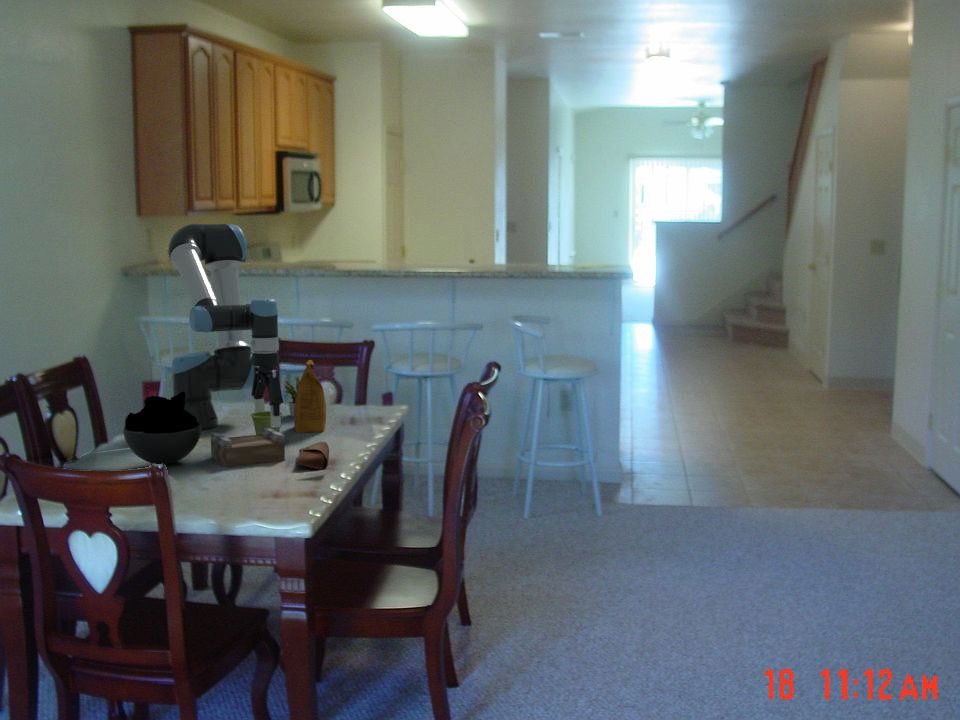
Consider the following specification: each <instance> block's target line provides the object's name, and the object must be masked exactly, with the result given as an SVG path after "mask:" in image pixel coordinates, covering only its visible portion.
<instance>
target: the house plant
mask: <svg viewBox="0 0 960 720" xmlns="http://www.w3.org/2000/svg"><path fill="white" fill-rule="evenodd" d="M290 375H292V376H293V378H294V380H295V388H294V385H293V384H292V383H291V381H290V380H288V379H287V378H286V377H283V376H282V377H281V378H283V380H282V382H284V387H285V389H286V390H282V392H283V393H287V394H290V396H289V395H287V394H285V395H284V397H290V398H291V400H292V401H291V400H290V401H288V402H287V403H288V407H289V409H288V410H289V413H290V414H289V415H290V416H291V417H292V418H294V410H295V400H296V394H297V391H298V387H299V383H300V376H299V375H298V373H296V375H297V376H295V375H293V374H292V373H290ZM316 377H317V376H316ZM319 378H320V376H318V377H317V379H319Z"/></svg>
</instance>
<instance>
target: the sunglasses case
mask: <svg viewBox="0 0 960 720" xmlns="http://www.w3.org/2000/svg"><path fill="white" fill-rule="evenodd" d="M298 450H299V451H298V452H299V454H298V457H297V459H296V461H295V464H298V465H300V466H303V467H307V468H312V469H316V470H324V469H326V468H327V467H328V465H329V459H330V457H329V456H330V448H329V445H328V443H327V442H326V441H320V442H316V443H313V444H310V445H308V446H306V447H302V448H300V449H298Z"/></svg>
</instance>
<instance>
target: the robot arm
mask: <svg viewBox="0 0 960 720" xmlns="http://www.w3.org/2000/svg"><path fill="white" fill-rule="evenodd" d="M247 248H248V247H247V241H246V236H245V234H244V232H243V230H242V229H241V227H240V226H238V225H237V224H227V223H191V224H186V225H184V226H182V227H180V228H179V229H178V230H176V232H175V233H174V234H172V236H171V239H170V241H169V244H168V249H167V251H168V252H167V253H168V257H169V260H170V262H171V264H172V265H173V266H174V267H175V268H177V271H178V272H179V273H178V274H179V275H180V276H179V277H180V278H181V281H182V284H183V286H184V289H185V291H186V293H187V296H188V298H189V301H190V303H191V306H192V307H191V308H190V309H189V316H188V317H189V320H188V321H189V325H190V328H191V330H192V331H193V332H195V333H210V332H211V333H213V332H215V333H216V337H217V345H216V347H214V350H213V353H214V354H211V353H210V351H208V350H196V351H189V352H185V353H182V354H178V355H176V356H175V357H173V359H172V360H171V371H170V372H171V375H172V376H171V377H172V380H171V381H172V397H174V396H176V395H178V394H179V393H181V392H185V396H186V397H185V406H184V407H185V408H184V409H185V411H187V412H189V413H190V414H192V415H193V416H195V417H196V419H197V422H198V423H200V424H201V425H202V429H201V431H202V430H208V429H214V428H216V427H218V426H219V419H218V418H219V417H218V415H217V412H216V409H215V407H214V404H213V401H212V399H213V398H212V394H213V393H215V392H226V391H227V392H228V391H242V390H249V389H251V396H252V397H253V399H254V413H256V412H263V411H266V410H265V399H266V397H265V390H267V394H268V397H269V400H270V402H269V404H268V405H269V409H270V410H269V411H270V416H271V428H275V427H280V428H281V422H282V419H280V412H281V404H283V403H284V399H283V394H282V389H281V383H280V377H279V370H278V369H274V367H275V366H279V364H280V357H279V356H280V355H279V354H280V353H278V352H277V351H279V350H280V349H279V348H280V347H279V345H280V344H279V328H278V327H279V325H278V324H279V322H278V318H279V317H278V316H279V315H278V312H279V311H278V304H277V303H278V302H277V300H276V299H274V298H256V299H252V300H251V301H250V303H246V304H242V297H241V287H240V279H239V278H240V277H239V268H240V267H241V266H242V265H243V262H242V261H243V260H245V259H246V258H247V250H248V249H247ZM203 261H204V263H203ZM205 269H207V271H209V272H210V277H211V280H210V278H209V277H208V273H207V272H206V270H205ZM245 331H251V341H250V342H249V343H250V344H249V343H247V341H246V335H245V334H246V333H245ZM251 346H252V347H251Z"/></svg>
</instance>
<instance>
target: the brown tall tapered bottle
mask: <svg viewBox="0 0 960 720" xmlns="http://www.w3.org/2000/svg"><path fill="white" fill-rule="evenodd" d="M304 364H305V366H306V367H305V369H304V371H303V374H302V375H301V378H300V379H299V381H300V383H299V387H298V391H297V390H296V393H297V394H296V400H295V410H294V417H293V423H294V424H293V425H294V427H293V428H294V431H295V432H296V433H298V434H305V433H306V434H307V433H308V434H309V433H324V432H325V428H326V422H327V403H326V397H325V391H324V386H323V385H322V383H321V382H320V381H319V378H317V375H316V374H315V373H314V371H313V370H314V369H315V368H316V367H315V363H314V362H313V360H311V359H309V360H307V361H306V362H305V363H304Z"/></svg>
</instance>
